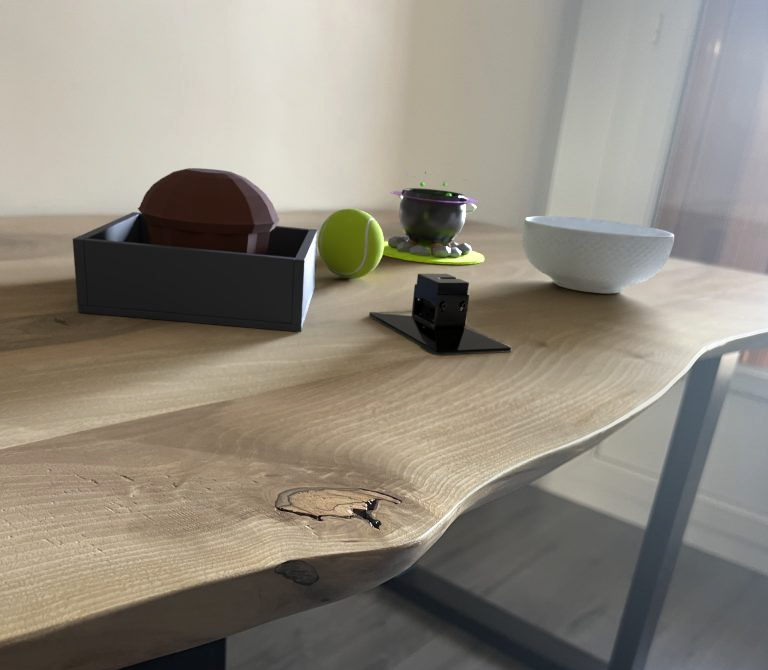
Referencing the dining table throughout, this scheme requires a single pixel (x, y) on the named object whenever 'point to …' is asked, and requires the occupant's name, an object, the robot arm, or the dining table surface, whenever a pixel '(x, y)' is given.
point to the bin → (195, 278)
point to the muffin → (209, 212)
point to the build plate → (440, 318)
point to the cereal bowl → (594, 252)
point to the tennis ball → (350, 243)
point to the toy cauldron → (432, 227)
